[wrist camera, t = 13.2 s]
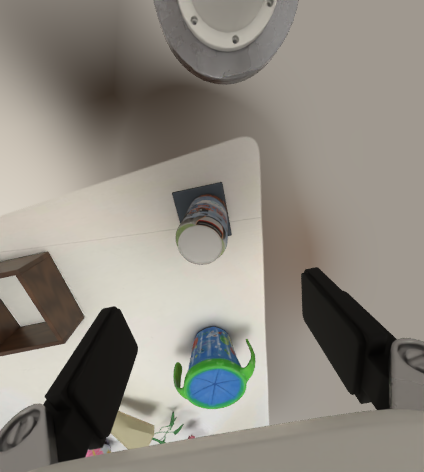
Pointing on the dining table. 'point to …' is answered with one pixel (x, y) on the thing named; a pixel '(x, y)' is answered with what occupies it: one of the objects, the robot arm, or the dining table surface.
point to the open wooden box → (38, 306)
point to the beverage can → (203, 230)
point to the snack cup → (214, 371)
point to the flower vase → (136, 431)
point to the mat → (188, 196)
